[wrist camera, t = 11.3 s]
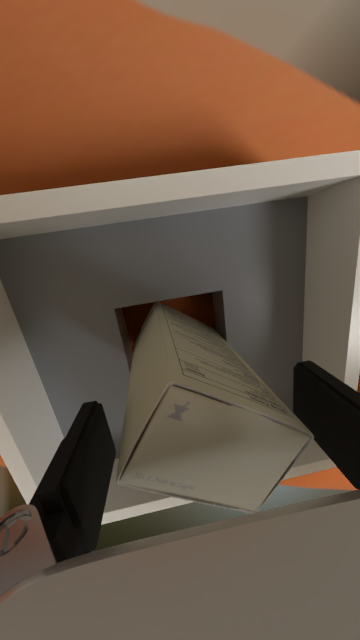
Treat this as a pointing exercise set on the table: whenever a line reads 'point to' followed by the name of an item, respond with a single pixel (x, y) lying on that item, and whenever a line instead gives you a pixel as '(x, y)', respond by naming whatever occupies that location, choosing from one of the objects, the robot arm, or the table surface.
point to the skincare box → (202, 419)
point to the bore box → (172, 292)
